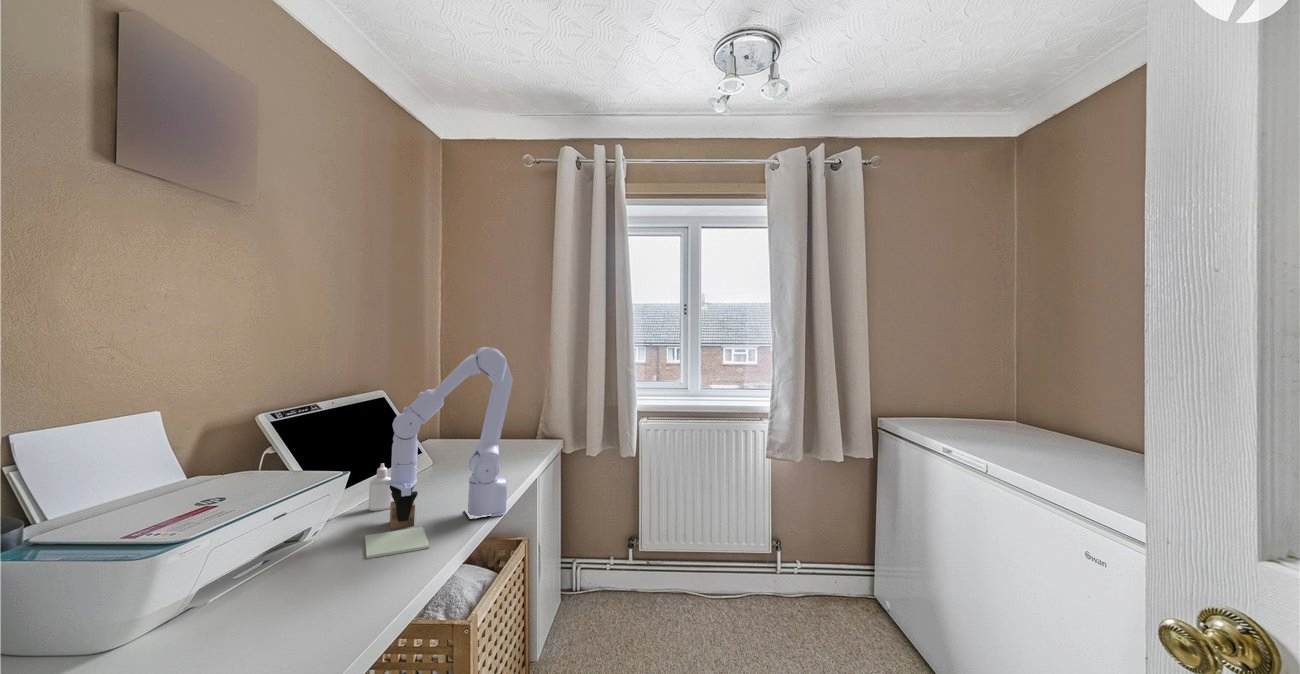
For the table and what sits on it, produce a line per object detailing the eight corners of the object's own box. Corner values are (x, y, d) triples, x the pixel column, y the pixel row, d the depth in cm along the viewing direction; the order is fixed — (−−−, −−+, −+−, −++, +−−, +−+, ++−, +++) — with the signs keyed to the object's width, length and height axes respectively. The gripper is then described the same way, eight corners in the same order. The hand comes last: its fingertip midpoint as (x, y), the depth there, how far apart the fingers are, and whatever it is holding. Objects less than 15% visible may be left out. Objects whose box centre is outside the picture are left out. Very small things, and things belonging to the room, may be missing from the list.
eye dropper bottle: (387, 511, 130) (389, 465, 130) (365, 511, 129) (367, 465, 129) (395, 506, 134) (396, 461, 134) (373, 505, 134) (375, 461, 134)
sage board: (422, 529, 119) (422, 526, 119) (429, 548, 108) (429, 545, 108) (365, 538, 112) (365, 535, 112) (366, 558, 102) (366, 555, 102)
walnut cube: (412, 518, 125) (412, 499, 125) (414, 525, 121) (415, 505, 121) (389, 522, 123) (390, 501, 123) (391, 528, 118) (392, 508, 118)
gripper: (384, 457, 126) (382, 510, 126) (388, 470, 114) (385, 529, 113) (414, 454, 130) (412, 506, 130) (421, 467, 117) (419, 525, 117)
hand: (402, 517), depth 122 cm, fingers closed on walnut cube, 5 cm apart
